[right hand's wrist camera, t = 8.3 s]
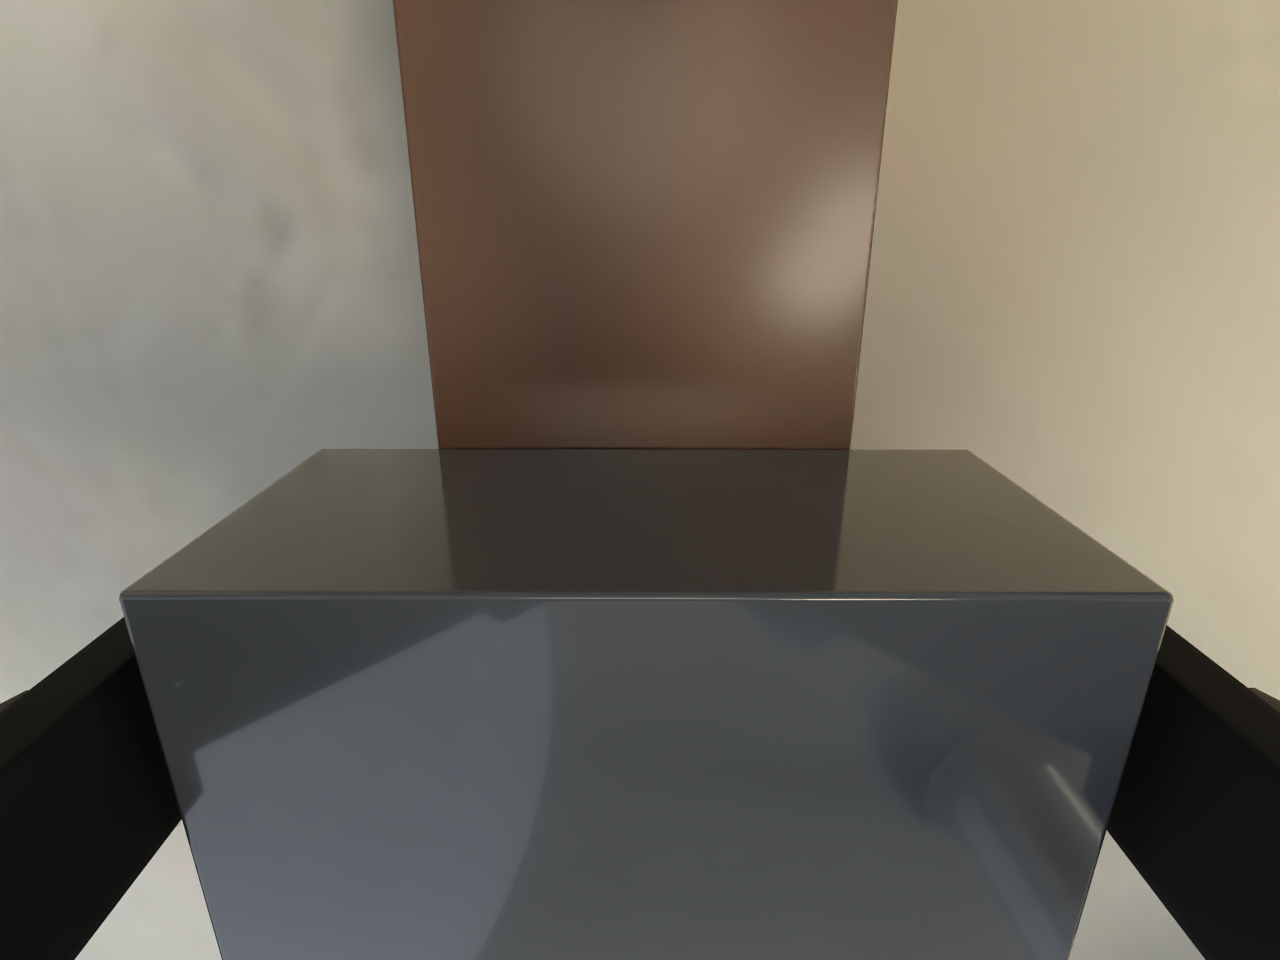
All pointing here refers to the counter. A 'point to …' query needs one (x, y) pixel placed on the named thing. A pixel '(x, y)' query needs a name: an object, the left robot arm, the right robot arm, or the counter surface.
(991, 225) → the counter surface
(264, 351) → the counter surface
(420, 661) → the grey block
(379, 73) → the counter surface
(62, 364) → the counter surface
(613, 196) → the walnut stand
